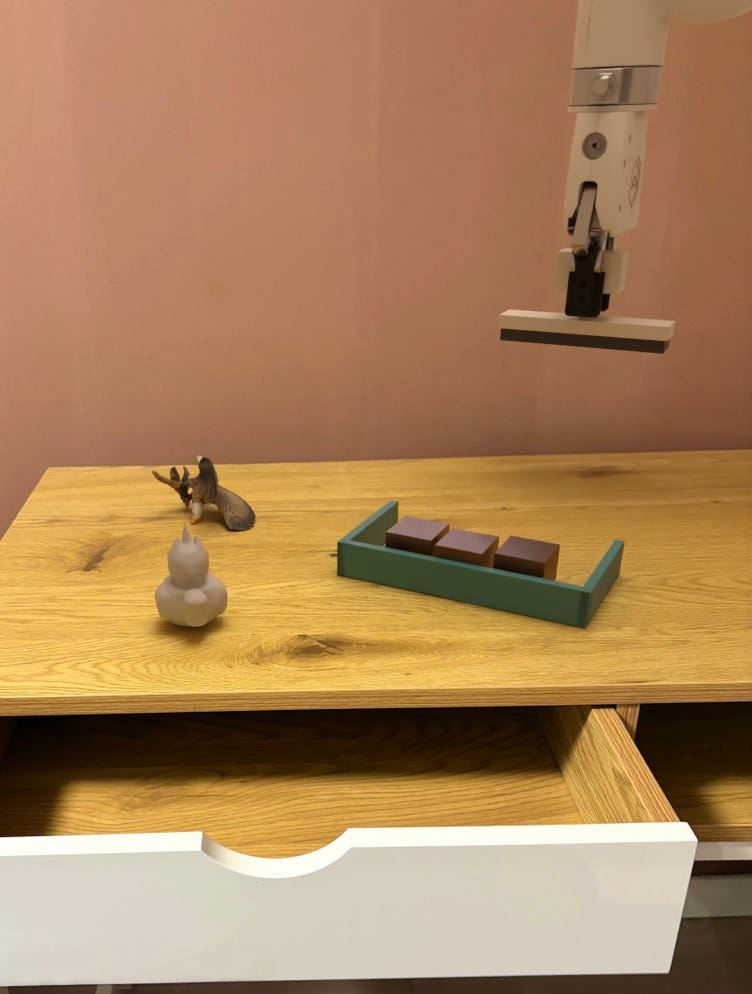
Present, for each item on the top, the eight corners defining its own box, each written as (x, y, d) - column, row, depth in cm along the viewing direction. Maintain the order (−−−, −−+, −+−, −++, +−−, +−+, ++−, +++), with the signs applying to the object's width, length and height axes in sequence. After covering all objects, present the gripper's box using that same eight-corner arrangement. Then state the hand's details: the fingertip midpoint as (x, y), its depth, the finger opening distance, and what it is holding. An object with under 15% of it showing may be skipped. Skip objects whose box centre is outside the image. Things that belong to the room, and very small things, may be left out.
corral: (619, 574, 81) (625, 540, 79) (585, 628, 73) (590, 592, 71) (389, 530, 90) (390, 500, 89) (336, 574, 82) (337, 541, 81)
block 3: (554, 590, 78) (560, 544, 76) (539, 609, 75) (544, 562, 73) (506, 580, 80) (511, 535, 78) (489, 599, 77) (494, 553, 75)
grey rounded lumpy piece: (220, 602, 78) (215, 508, 74) (236, 640, 72) (231, 541, 68) (153, 610, 77) (144, 515, 73) (163, 650, 71) (154, 549, 67)
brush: (671, 348, 92) (687, 252, 88) (664, 354, 90) (681, 256, 86) (506, 334, 99) (514, 245, 95) (497, 340, 97) (504, 249, 93)
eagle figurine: (141, 512, 92) (207, 516, 87) (158, 440, 93) (225, 439, 87) (196, 533, 98) (262, 538, 92) (212, 465, 99) (278, 466, 93)
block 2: (495, 581, 80) (499, 536, 78) (478, 600, 77) (482, 554, 75) (449, 571, 82) (452, 527, 80) (431, 590, 79) (434, 544, 77)
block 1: (446, 567, 83) (449, 523, 81) (428, 585, 80) (431, 540, 78) (403, 558, 84) (405, 515, 83) (384, 576, 81) (385, 531, 80)
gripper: (638, 92, 77) (606, 332, 85) (676, 91, 89) (644, 301, 98) (544, 95, 80) (522, 326, 89) (593, 94, 92) (569, 297, 101)
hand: (586, 311), depth 93 cm, fingers closed on brush, 2 cm apart
